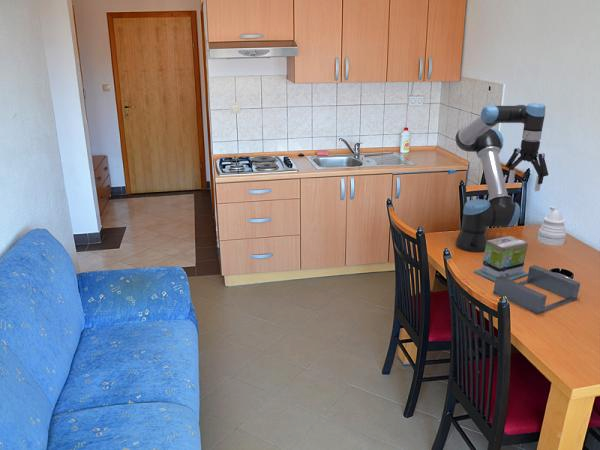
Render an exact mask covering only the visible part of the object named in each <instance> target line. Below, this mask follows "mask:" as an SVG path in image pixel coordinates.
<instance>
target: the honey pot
mask: <svg viewBox="0 0 600 450" xmlns="http://www.w3.org/2000/svg"><path fill="white" fill-rule="evenodd" d="M549 210H550V213H549V214H548V215H546V216H544V217H543V222H542V223H541V225H540V227H539V228H538V232H537V238H536V239H537V241H538V242H539V243H542V244H545V245H549V246H563V245H565V241H566V235H567V232H566V226H565V223H566V220H565V219H564V217H563V215H562V213H561V212H560V210H558V209H556V206H554V205H549Z"/></svg>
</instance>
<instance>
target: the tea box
mask: <svg viewBox="0 0 600 450" xmlns="http://www.w3.org/2000/svg"><path fill="white" fill-rule="evenodd" d="M528 244H529V243H528V242H526V241H525V240H523V239H522V240H521V239H519V238H517V237H516V236H512V235H508V236H507V235H506V236H503V237H498V238H493V239H487V242H486V248H485V251H484V255H483V260H482V261H483V262H482V266H481V269H482V271H483V272H485V273H487V274H489V275H491V276H493V277H495V278H496V277H499V276H503V277H508V276H511V275H516V274H520V273H522V271H524V267H525V266H524V265H525V261H526V254H527V250H528Z"/></svg>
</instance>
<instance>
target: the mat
mask: <svg viewBox="0 0 600 450" xmlns="http://www.w3.org/2000/svg"><path fill="white" fill-rule="evenodd" d="M473 273H474V274H476V275H478V276H479V277H483V278H484V279H486V280H487V279H488V280H489V281H492V282H493V283H495V279H496V278H495V277H493V276H491V275H489V274H487V273H485V272H483V271H482V268H480V269H477V270H474V271H473ZM528 273H529V272H527V271H524V270H523V271H522V273H520V274H516V275H511V276H508V277H506V278H508V279H510V280H512V281H515V280H519V279H522V278H524V277H528Z"/></svg>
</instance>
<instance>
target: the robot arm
mask: <svg viewBox="0 0 600 450" xmlns="http://www.w3.org/2000/svg"><path fill="white" fill-rule="evenodd" d="M545 117H546V104H544V103H536V102H533V103H531V102H530V103H528V104H527V105H525V104H515V105H494V104H492V105H485V106H484V107H483V108H482V110H481V112H480V116H479V117H477V118H476V119H475V120H474V121H472V122H471V123H469V124H468V125H467V126H463V127H461V128H460V129H459V130H458V131H457V133H456V134H455V144H456V145H457V147H458V149H459V148H460V149H461V150H462V151H465V152H468V153H469V152H471V153H472V152H474V153H476V156H477V158H479V159H480V161H481V164H482V170H483V174H484V179H485V183H486V187H487V193H488V196H489V199H483V198H482V199H480V198H476V199H471V200H468V201H466V202H465V203H464V206H463V210H462V219H461V220H462V221H461V230H460V232H459V234H458V235H457V238H456V239H455V240H456V241H455V246H456V247H457V248H458V249H459V250H463V251H466V252H472V253H482V252H485V248H486V242H487V240H488V239H487V238H488V237H487V229H488V228H496V227H497V228H499V227H500V228H501V227H502V228H507V227H513V226H515V225H516V224H517V223H518V222H519V219H520V215H521V208H520V205H519V204H518V203H519V202H518V203H517V202H516V201H515V202H514V200H513V197H512V196H511V195H508V191H507V189H508V188H507V186H506V181H505V177H504V172H503V168H502V165H501V161H500V156H499V154H500V153H501V150H502V149H503V147H504V143H503V142H504V137H503V135H502V132H501V131H499V130H498V129H496V128H494V127H495V126H496V125H497V124H523V128H522V129H523V130H522V135H521V136H522V137H521V138H522V140H521V141H520V142H521V143H520V148H519V147H518V148H514V149H513V153H512V154H511V156H510V157H509V159H508V161H507V162H506V164H505V165H504V166H505V168H507V169H508V173H507V177H508V182H507V183H508V185H512V184H514V181H515V176H516V167H517V166H519V164H520V163H522V162H523V161H524V162H525V161H526V162H529V163H531V164H532V166H533V168H534V170H535V171H536V173H537V176H536V179H535V184H534V190H533V191H534V192H539V191H540V190H541V185H542V184H543V182H544V177H548V176H549V171H548V167H547V163H546V160H545V159H546V158H545V157H546V155H545V153H539V149H540V147H541V146H540V145H541V139H542V133H543V127H544V122H545ZM519 154H520V155H519ZM518 156H519V157H518Z"/></svg>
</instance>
